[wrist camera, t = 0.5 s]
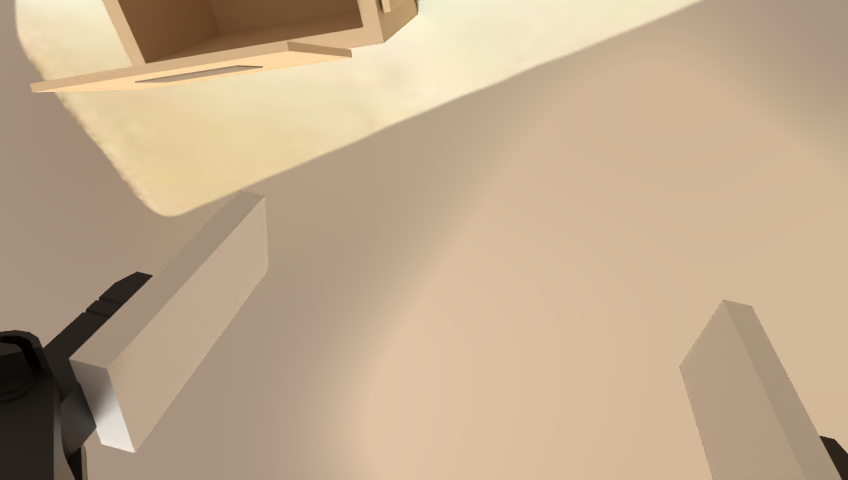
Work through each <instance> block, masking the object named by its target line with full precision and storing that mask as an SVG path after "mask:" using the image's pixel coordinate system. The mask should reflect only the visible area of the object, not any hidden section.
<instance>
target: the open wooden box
mask: <svg viewBox="0 0 848 480" xmlns="http://www.w3.org/2000/svg"><path fill="white" fill-rule="evenodd" d="M102 2H103V4H104V6H105V8H106V10H107V13H108V15H109V17H110V19H111V21H112V24H113V26H114V28H115V30H116V32H117V34H118V37H119V39H120V41H121V43H122V45H123V47H124V50H125V52H126V54H127V56H128V57H129V58H130V60H131V63H132V65H133V67H134V66H140V65H146V64H152V63H158V62H164V61H170V60H176V59H182V58H188V57H194V56H200V55H206V54H212V53H218V52H224V51H230V50H236V49H242V48H248V47H254V46H260V45H266V44H272V43H278V42H284V41H291V42H298V43H305V44H312V45H319V46H326V47H333V48H340V49H349V48H355V47H362V46H368V45H374V44H381V43H385V42H386V41H387V40H388V39H389V38H390V37H392V36H393V35H394V34H395V33H396V32H397V31H399V30H400V29H401V28H402V27H403V26H405V25H406V24H407V23H408V22H409V21H410V20H412V19H413V18H414V17H415V16H416V15H418V12H417V6H416V0H102Z"/></svg>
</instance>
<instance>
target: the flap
mask: <svg viewBox="0 0 848 480" xmlns="http://www.w3.org/2000/svg"><path fill="white" fill-rule="evenodd" d="M346 58H352V53H351V50H348V49H340V48H333V47H326V46H319V45H312V44H305V43H298V42H291V41H284V42H278V43H272V44H266V45H260V46H254V47H248V48H242V49H236V50H230V51H224V52H218V53H212V54H206V55H200V56H194V57H188V58H182V59H176V60H170V61H164V62H158V63H152V64H146V65H140V66H134V67H128V68H122V69H116V70H110V71H104V72H98V73H92V74H86V75H80V76H74V77H68V78H62V79H56V80H50V81H44V82H38V83H32V84H30V85H31V89H32V92H61V91H96V90H131V89H149V88H155V87H162V86H169V85H175V84H182V83H188V82H195V81H201V80H208V79H214V78H221V77H228V76H234V75H241V74H247V73H254V72H260V71H267V70H274V69H280V68H287V67H293V66H300V65H306V64H313V63H320V62H326V61H333V60H339V59H346Z"/></svg>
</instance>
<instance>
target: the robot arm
mask: <svg viewBox="0 0 848 480" xmlns="http://www.w3.org/2000/svg"><path fill="white" fill-rule="evenodd" d="M265 206H266V204H265V196H264V195H259V194H255V193H250V192H245V191H242V190H240V191H239V192H238V193H237V194H236V195H235V196H234V197H233V198H232V199H231V200H230V201H229V202H228V203H227V204H226V205H225V206H224V207H223V208H222V209H221V210H220V211H219V212H218V213H217V214H215V216H213V217H212V218H211V219H210V221H209V222H207V223H206V224H205V225H204V226H203V227H202V228H201V229H200V230H199V231H198V232H197V233H196V234H195V235H194V236H193V237H192V238H191V239H190V240H189V241H188V242H187V243H186V244H185V245H184V246H183V247H182V248H181V249H180V250H179V251H178V252H177V253H176V254H175V255H174V256H173V257H172V258H171V259H170V260H169V261H168V262H167V263H166V264H165V265H164V266H163V267H161V268H160V270H158V272H156V273H155V275H149V274H144V273H140V272H136V273H134V274H132V275H130V276H128V277H126V278H124V279H122V280H120V281H118V282H116V283H114V284H113V285H112V286H111V287H110V288H109V289H108V290H107V291H106V292H105V293H103V294H102V295H101V296H100V297H99V300H98V301H97V300H96V301H95V302H94V303H92V304H91V305H90V306H89V307H88V308H87V309H86V312H85V313H81V314H80V315H79V316H78V317H77V318H76V319H75V320H74V321H73V322H72V323H70V324H69V325H68V326H67V327H66V328H65V329H64V330H63V331H62V332H61V333H60V334H58V335H57V336H56V337H55V338H54V339H53V340H52V341H51V342H50V343H49V344H47V345H46V346H45V347H44V348H42V345H41V343H40V341H39V338H38V337H36V336H35V335H33V334H31V333H30V332H25V331H17V330H13V331H4V332H0V480H88V477H87V458H86V449H85V447H84V444H83V443H84V442H85V441H86V440H87V438H88V437H89V436H90V435H91V434H92V432H93V431H94V430H95V429H96V430H97V433H98V435H99V438H100V440H101V443H102V444H104V445H107V446H111V447H115V448H118V449H122V450H126V451H130V452H133V453H135V452H136V451H137V449H138V448H139V447H140V445H141V444H142V442H143V441H144V440H145V438H146V437H147V435H148V434H149V433H150V431H151V430H152V429H153V427H154V426H155V424H156V423H157V422H158V420H159V419H160V418H161V416H162V415H163V414H164V412H165V411H166V409H167V408H168V407H169V405H170V404H171V403H172V401H173V399H174V398H175V397H176V395H177V394H178V393H179V391H180V390H181V389H182V387H183V386H184V385H185V383H186V382H187V380H188V379H189V378H190V376H191V375H192V373H193V372H194V371H195V369H196V368H197V366H198V365H199V364H200V363H201V361H202V360H203V358H204V357H205V356H206V354H207V353H208V351H209V350H210V349H211V347H212V346H213V345H214V343H215V342H216V340H217V339H218V338H219V336H220V335H221V334H222V332H223V331H224V330H225V328H226V327H227V325H228V324H229V323H230V321H231V320H232V319H233V317H234V316H235V314H236V313H237V312H238V310H239V309H240V308H241V306H242V305H243V303H244V302H245V301H246V299H247V298H248V297H249V295H250V294H251V292H252V291H253V290H254V288H255V287H256V286H257V284H258V283H259V281H260V280H261V279H262V277H263V276H264V275H265V273H266V272H267V270H268V248H267V226H266V207H265ZM680 370H681V373H682V377H683V380H684V383H685V387H686V390H687V394H688V397H689V400H690V404H691V407H692V410H693V413H694V417H695V420H696V424H697V427H698V430H699V434H700V437H701V440H702V444H703V447H704V450H705V454H706V457H707V461H708V464H709V467H710V471H711V474H712V477H713V480H848V454H847V452H846V451H845V450H844V449H843V448H842V447H841V446H840V445H839V444H838V443H837V441H836V440H835V439H831V438H827V437H823V436H819V435H818V433H817V431H816V429H815V427H814V425H813V424H812V421H811V419H810V417H809V416H808V414H807V412H806V410H805V408H804V406H803V404H802V402H801V400H800V398H799V396H798V395H797V393H796V391H795V389H794V387H793V385H792V383H791V381H790V379H789V377H788V375H787V373H786V371H785V369H784V367H783V365H782V363H781V362H780V360H779V358H778V356H777V354H776V352H775V350H774V348H773V346H772V344H771V342H770V340H769V338H768V337H767V335H766V333H765V331H764V329H763V327H762V325H761V323H760V321H759V319H758V317H757V315H756V313H755V312H754V310H753V308H752V306H748V305H745V304H740V303H736V302H731V301H727V300H723V301H722V302H721V304H720V305H719V307H718V309H717V310H716V311H715V313H714V315H713V316H712V317H711V319H710V320H709V322H708V324H707V325H706V327H705V328H704V330H703V331H702V333H701V334H700V336H699V337H698V339H697V340H696V342H695V343H694V345H693V346H692V348H691V350H690V351H689V353H688V354H687V356H686V357H685V359H684V360H683V362H682V363H681V365H680Z"/></svg>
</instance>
